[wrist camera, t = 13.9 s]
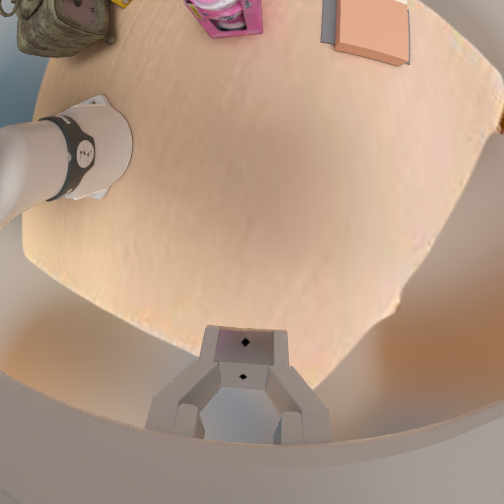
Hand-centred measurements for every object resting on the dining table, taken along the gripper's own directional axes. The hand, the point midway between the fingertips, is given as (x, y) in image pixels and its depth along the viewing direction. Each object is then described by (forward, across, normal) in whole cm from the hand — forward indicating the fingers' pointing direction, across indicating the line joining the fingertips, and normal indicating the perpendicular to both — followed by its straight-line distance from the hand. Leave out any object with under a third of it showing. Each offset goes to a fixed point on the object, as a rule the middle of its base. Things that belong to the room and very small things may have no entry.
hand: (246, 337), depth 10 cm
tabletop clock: (+40, +30, -24) cm, 55 cm away
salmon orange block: (+32, -14, -16) cm, 39 cm away
